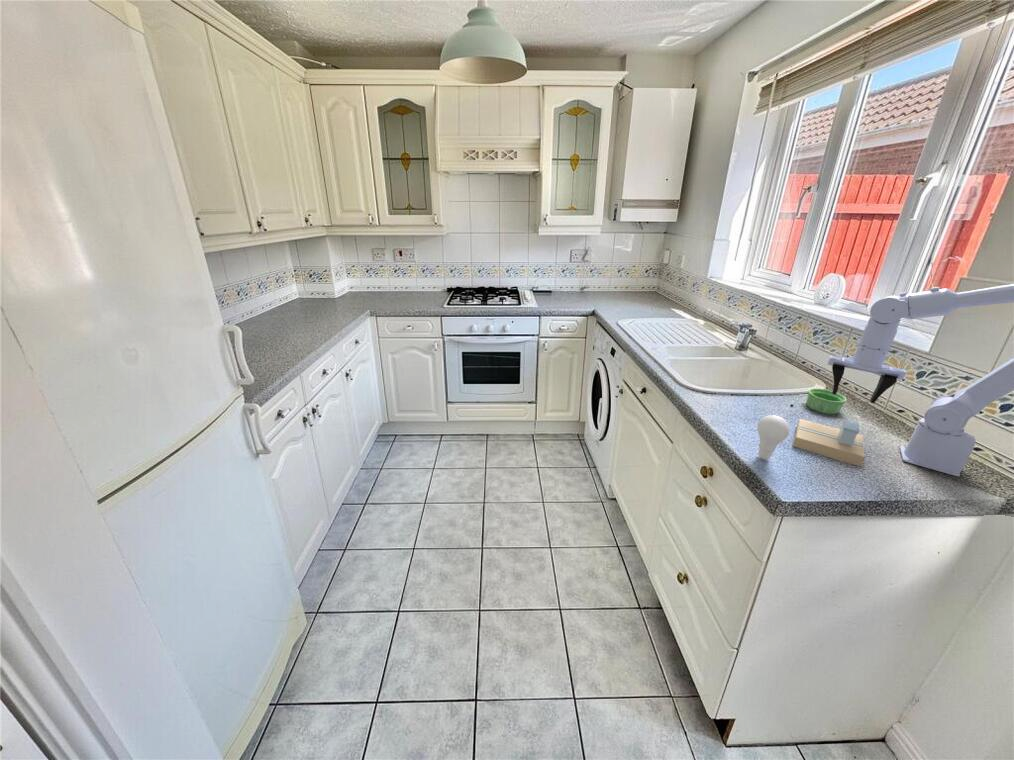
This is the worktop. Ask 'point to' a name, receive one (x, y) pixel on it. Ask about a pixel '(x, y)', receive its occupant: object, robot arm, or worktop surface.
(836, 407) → the ramekin
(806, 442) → the carton
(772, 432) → the lightbulb
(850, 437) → the tab
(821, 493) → the worktop surface
